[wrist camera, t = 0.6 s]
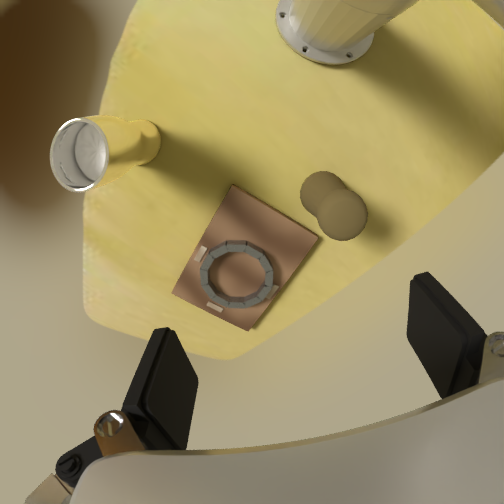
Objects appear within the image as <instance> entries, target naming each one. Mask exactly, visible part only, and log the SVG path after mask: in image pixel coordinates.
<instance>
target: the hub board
mask: <svg viewBox="0 0 504 504" xmlns="http://www.w3.org/2000/svg"><path fill="white" fill-rule="evenodd" d="M317 239H318V236H317V234H315V233H314V232H312V231H310V230H309V229H307V228H306V227H304V226H302V225H301V224H299V223H297V222H296V221H294V220H293V219H291V218H289V217H288V216H286V215H284V214H283V213H281V212H279V211H278V210H276V209H274V208H273V207H271V206H269V205H268V204H266V203H264V202H263V201H261V200H259V199H258V198H256V197H254V196H252V195H251V194H249V193H247V192H246V191H244V190H242V189H240V188H239V187H237V186H235V185H233V184H232V186H231V188H230V189H229V191H228V193H227V194H226V196H225V198H224V199H223V201H222V203H221V205H220V206H219V208H218V210H217V211H216V213H215V215H214V217H213V218H212V220H211V222H210V224H209V225H208V227H207V229H206V231H205V232H204V234H203V236H202V238H201V239H200V241H199V243H198V245H197V247H196V248H195V250H194V252H193V254H192V256H191V257H190V259H189V261H188V263H187V265H186V267H185V268H184V270H183V272H182V274H181V276H180V278H179V279H178V281H177V283H176V285H175V287H174V289H173V291H172V294H174V295H176V296H178V297H180V298H181V299H183V300H185V301H187V302H189V303H191V304H193V305H195V306H197V307H199V308H201V309H203V310H205V311H207V312H209V313H211V314H213V315H215V316H217V317H219V318H221V319H223V320H225V321H227V322H229V323H231V324H233V325H235V326H238V327H240V328H242V329H244V330H246V331H249V330H250V328H251V327H252V326H253V325H254V323H255V322H256V321H257V320H258V318H259V317H260V316H261V314H262V313H263V312H264V311H265V309H266V308H267V307H268V305H269V304H270V303H271V301H272V300H273V299H274V297H275V296H276V295H277V294H278V292H279V291H280V290H281V288H282V287H283V286H284V284H285V283H286V282H287V280H288V279H289V278H290V276H291V275H292V274H293V272H294V271H295V270H296V268H297V267H298V265H299V264H300V263H301V261H302V260H303V259H304V257H305V256H306V255H307V253H308V252H309V250H310V249H311V248H312V246H313V245H314V244H315V242H316V241H317ZM226 240H227V241H228V240H246V242H247V241H249V242H251V243H252V244H254V245H256V246H258V247H260V248H261V249H263V251H265V253H266V254H267V256H268V258H269V260H270V261H271V263H272V265H273V286H272V289H271V290H270V291H269V293H268V294H267V296H266V297H265V298H264V300H263V301H262V302H259V303H257V304H255V305H253V306H251V307H248V308H246V307H245V309H242V308H228V307H227V308H226V307H224V306H222V305H220V304H218V303H216V302H214V301H212V299H210V298H209V296H208V295H207V293H206V292H205V291H204V289H203V288H202V285H201V279H200V267H201V264H202V262H203V260H204V259H205V257H206V255H207V254H208V252H209V250H210V249H211V248H213V247H215V246H216V245H218V244H220V243H222V242H224V241H226ZM209 275H210V280H211V281H212V283H213V284H214V286H215V287H216V289H217V290H219V291H221V292H222V293H224V294H226V295H228V296H234V297H245V296H247V295H249V294H252V293H254V292H256V291H257V290H258V289H259V287H260V286H261V285H262V283H263V282H264V280H265V270H264V269H263V267H262V265H261V264H260V262H259V260H258V259H256V258H254V257H252V256H250V255H249V254H247V253H245V252H227V253H225V254H223V255H221V256H219V257H217V258H215V259H214V261H213V262H212V264H211V266H210V267H209Z"/></svg>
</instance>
